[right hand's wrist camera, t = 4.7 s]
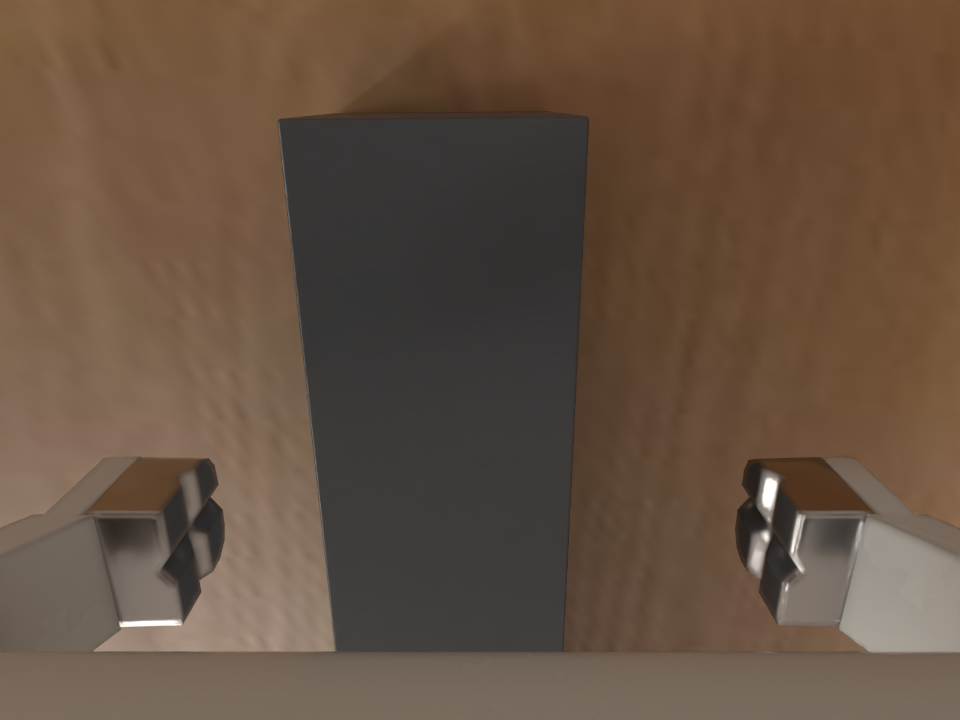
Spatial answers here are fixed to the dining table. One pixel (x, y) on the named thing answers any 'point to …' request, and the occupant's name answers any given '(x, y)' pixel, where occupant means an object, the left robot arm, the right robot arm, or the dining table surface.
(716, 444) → the dining table surface
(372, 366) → the post
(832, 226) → the dining table surface
